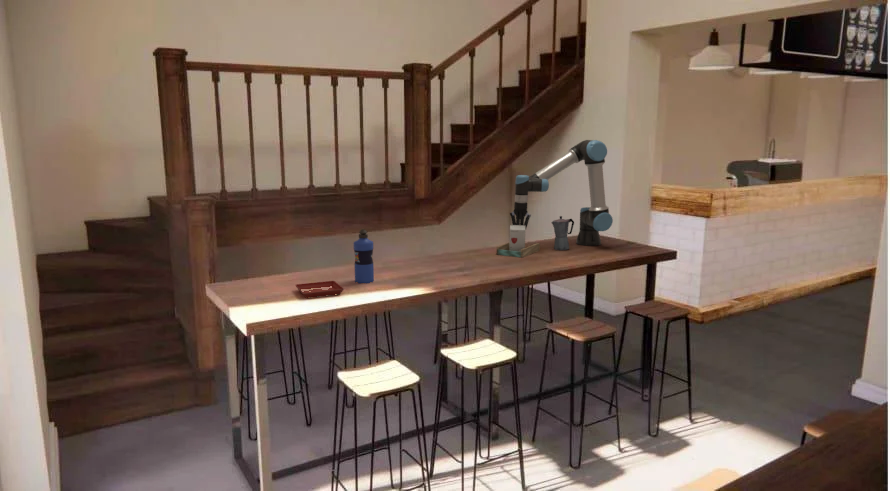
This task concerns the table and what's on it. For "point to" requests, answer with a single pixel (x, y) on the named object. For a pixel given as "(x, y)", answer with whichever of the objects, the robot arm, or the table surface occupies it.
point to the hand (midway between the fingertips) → (518, 241)
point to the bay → (524, 252)
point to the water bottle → (363, 258)
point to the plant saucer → (319, 292)
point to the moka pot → (561, 233)
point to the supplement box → (517, 238)
